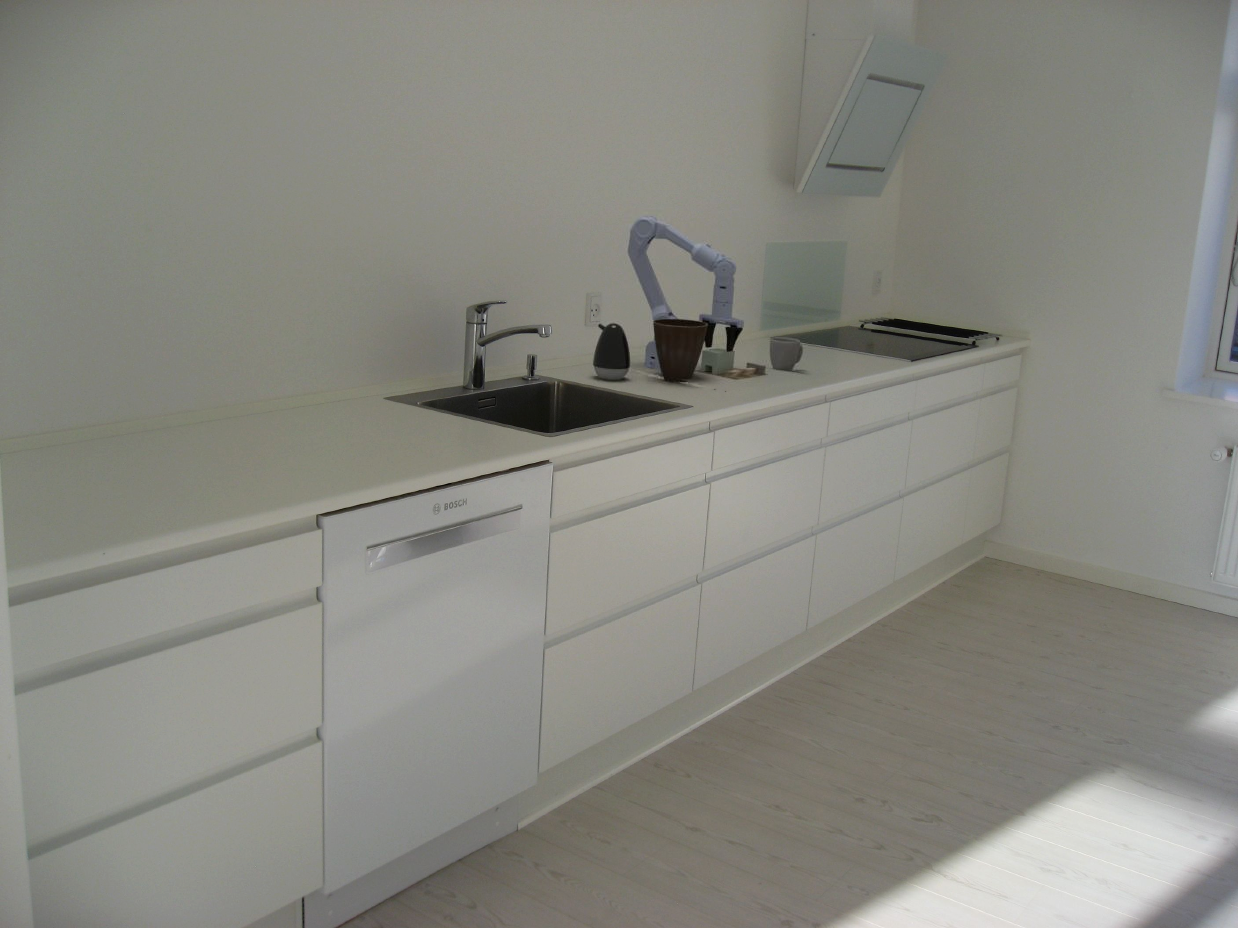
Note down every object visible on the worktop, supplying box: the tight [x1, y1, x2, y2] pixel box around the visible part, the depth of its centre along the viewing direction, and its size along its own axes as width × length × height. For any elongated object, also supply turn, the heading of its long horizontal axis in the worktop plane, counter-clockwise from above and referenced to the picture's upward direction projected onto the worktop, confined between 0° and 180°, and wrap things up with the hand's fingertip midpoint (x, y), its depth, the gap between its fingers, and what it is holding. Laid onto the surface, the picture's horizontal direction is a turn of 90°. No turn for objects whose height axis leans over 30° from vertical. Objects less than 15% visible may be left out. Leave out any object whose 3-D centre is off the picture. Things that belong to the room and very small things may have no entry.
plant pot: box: [652, 318, 708, 383], centre depth 309 cm, size 15×15×16 cm
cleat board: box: [695, 362, 768, 380], centre depth 321 cm, size 15×15×4 cm
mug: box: [769, 336, 804, 373], centre depth 334 cm, size 12×9×10 cm
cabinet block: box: [700, 347, 736, 374], centre depth 322 cm, size 8×6×6 cm
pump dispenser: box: [592, 322, 631, 381], centre depth 305 cm, size 10×10×15 cm
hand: (718, 349), depth 321 cm, fingers open, 7 cm apart
